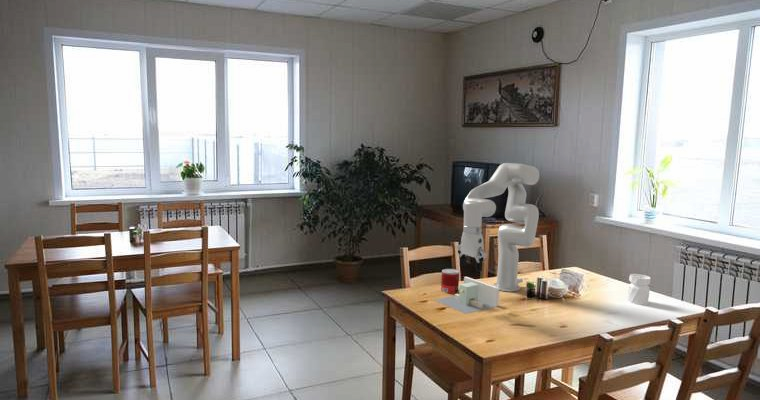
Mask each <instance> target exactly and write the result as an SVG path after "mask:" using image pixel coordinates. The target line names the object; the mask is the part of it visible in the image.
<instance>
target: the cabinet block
mask: <svg viewBox="0 0 760 400" xmlns="http://www.w3.org/2000/svg"><path fill="white" fill-rule="evenodd" d="M478 289H479V285H478V284H475V283H472V282H470V283H465V284H464V283H460V284H459V287H458V294H459V303H462V304H464V305H469V299H472V300H475V301H477V302H478Z"/></svg>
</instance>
